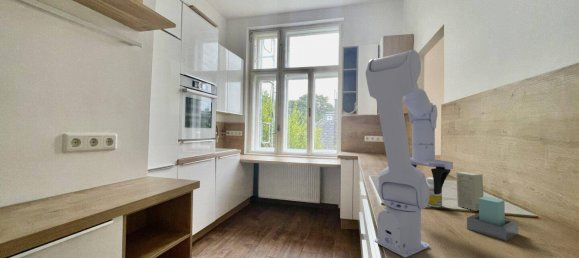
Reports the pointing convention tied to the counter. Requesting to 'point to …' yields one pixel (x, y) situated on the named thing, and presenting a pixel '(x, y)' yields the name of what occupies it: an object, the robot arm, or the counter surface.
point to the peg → (492, 210)
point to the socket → (493, 228)
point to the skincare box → (469, 189)
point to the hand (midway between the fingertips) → (423, 190)
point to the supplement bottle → (433, 198)
